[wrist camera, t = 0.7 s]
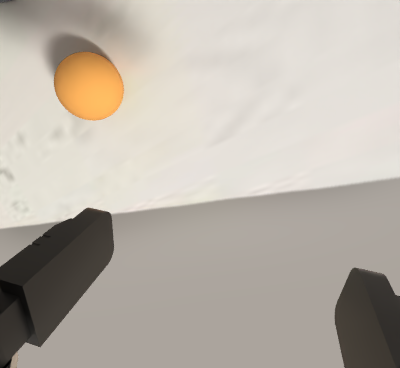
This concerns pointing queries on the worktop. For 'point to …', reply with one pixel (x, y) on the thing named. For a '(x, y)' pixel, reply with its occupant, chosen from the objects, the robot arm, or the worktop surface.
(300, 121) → the worktop surface
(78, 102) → the ball
